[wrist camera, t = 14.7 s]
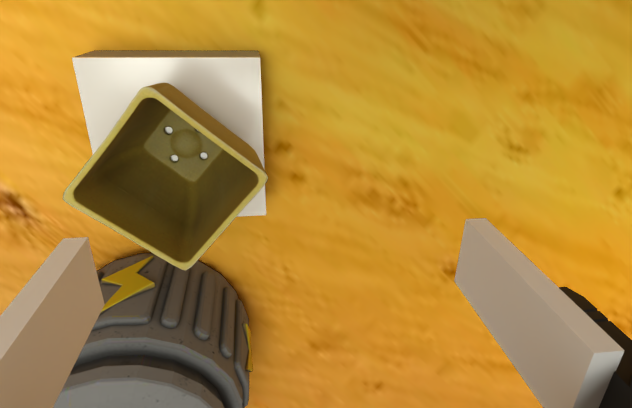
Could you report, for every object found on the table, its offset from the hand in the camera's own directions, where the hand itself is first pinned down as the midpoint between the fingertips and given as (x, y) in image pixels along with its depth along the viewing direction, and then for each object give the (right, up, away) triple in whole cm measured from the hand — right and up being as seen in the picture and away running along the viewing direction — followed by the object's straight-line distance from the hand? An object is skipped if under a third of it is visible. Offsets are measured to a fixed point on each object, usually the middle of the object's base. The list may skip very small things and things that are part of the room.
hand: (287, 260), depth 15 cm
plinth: (-10, +9, +23) cm, 26 cm away
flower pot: (-9, +7, +18) cm, 22 cm away
